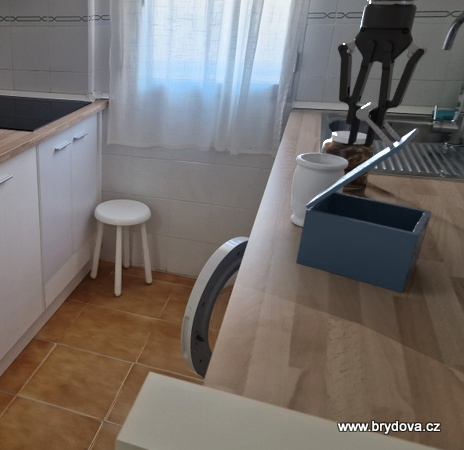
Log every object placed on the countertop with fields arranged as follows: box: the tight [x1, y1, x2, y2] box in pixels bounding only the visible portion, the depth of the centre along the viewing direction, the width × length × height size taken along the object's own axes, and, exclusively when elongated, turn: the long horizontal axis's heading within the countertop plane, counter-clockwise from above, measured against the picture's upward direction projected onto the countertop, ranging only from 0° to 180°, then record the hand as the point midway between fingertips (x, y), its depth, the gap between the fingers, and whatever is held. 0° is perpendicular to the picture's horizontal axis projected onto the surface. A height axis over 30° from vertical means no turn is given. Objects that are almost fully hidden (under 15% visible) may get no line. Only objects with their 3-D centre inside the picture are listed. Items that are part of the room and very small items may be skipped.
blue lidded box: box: [295, 192, 432, 294], centre depth 102 cm, size 18×14×11 cm
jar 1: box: [290, 152, 348, 228], centre depth 120 cm, size 11×10×15 cm
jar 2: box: [320, 130, 375, 197], centre depth 139 cm, size 12×12×15 cm
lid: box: [306, 101, 421, 209], centre depth 99 cm, size 19×14×9 cm
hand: (359, 143), depth 97 cm, fingers closed on lid, 2 cm apart
